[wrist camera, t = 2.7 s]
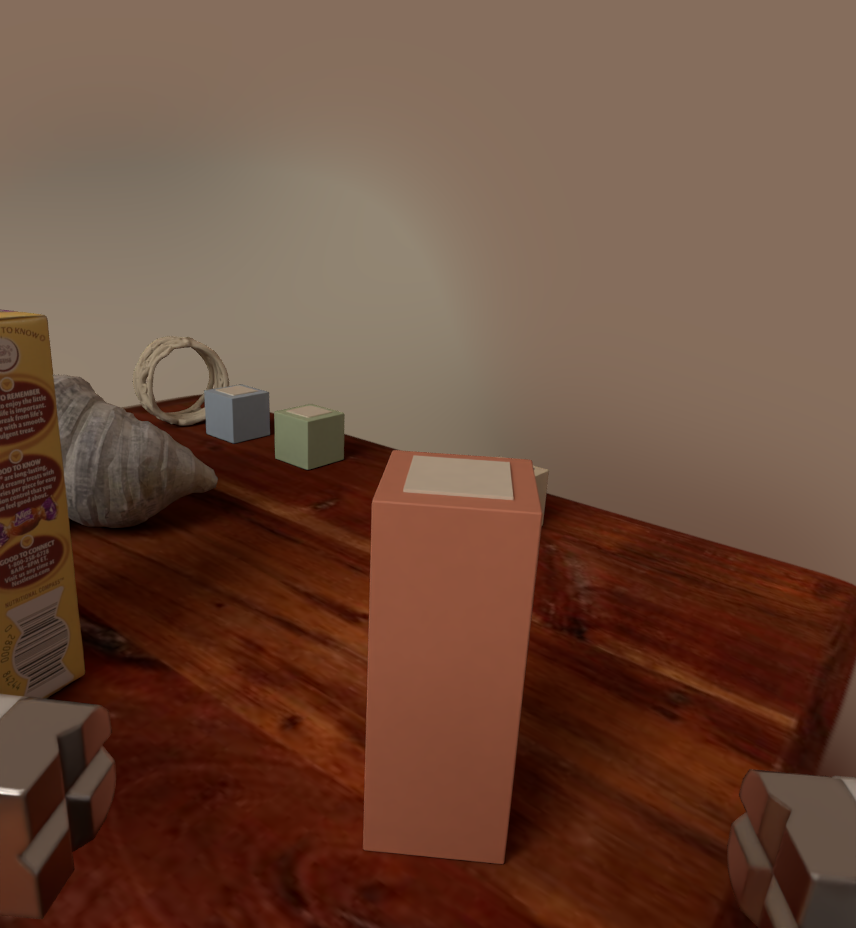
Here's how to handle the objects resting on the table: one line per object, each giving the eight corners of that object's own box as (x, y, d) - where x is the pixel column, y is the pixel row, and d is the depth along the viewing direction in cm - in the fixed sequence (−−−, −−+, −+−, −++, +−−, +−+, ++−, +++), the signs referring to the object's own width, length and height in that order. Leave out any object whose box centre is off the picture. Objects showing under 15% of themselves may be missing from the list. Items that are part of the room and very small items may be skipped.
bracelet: (132, 424, 66) (125, 337, 63) (212, 412, 71) (208, 331, 68) (151, 435, 63) (144, 344, 60) (232, 421, 68) (229, 338, 66)
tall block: (501, 763, 27) (532, 456, 23) (504, 865, 22) (543, 509, 18) (381, 751, 27) (392, 446, 23) (362, 850, 23) (371, 496, 19)
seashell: (227, 517, 47) (220, 366, 44) (-16, 598, 36) (-49, 405, 33) (101, 459, 56) (88, 332, 53) (-123, 510, 45) (-157, 353, 42)
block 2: (344, 459, 59) (344, 411, 58) (307, 470, 56) (307, 420, 55) (311, 448, 61) (311, 402, 60) (274, 458, 58) (273, 410, 57)
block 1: (270, 435, 65) (269, 390, 63) (233, 443, 62) (231, 397, 60) (242, 425, 67) (241, 383, 66) (206, 433, 64) (203, 389, 63)
